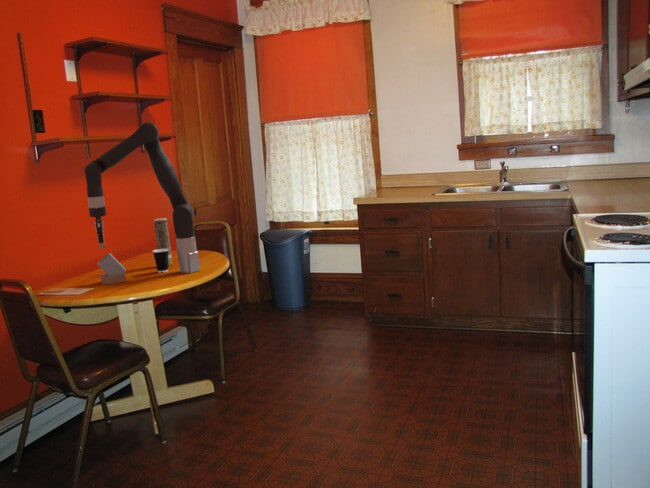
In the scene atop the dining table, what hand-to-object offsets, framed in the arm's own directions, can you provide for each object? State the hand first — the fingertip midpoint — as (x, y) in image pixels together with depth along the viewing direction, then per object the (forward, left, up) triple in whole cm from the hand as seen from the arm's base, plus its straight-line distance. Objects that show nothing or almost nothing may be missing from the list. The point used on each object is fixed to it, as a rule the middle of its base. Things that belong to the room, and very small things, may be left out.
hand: (101, 242), depth 293 cm
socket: (-2, -2, -20) cm, 20 cm away
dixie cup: (-9, -27, -20) cm, 34 cm away
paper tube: (+2, -38, -20) cm, 43 cm away
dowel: (0, 0, -3) cm, 3 cm away
